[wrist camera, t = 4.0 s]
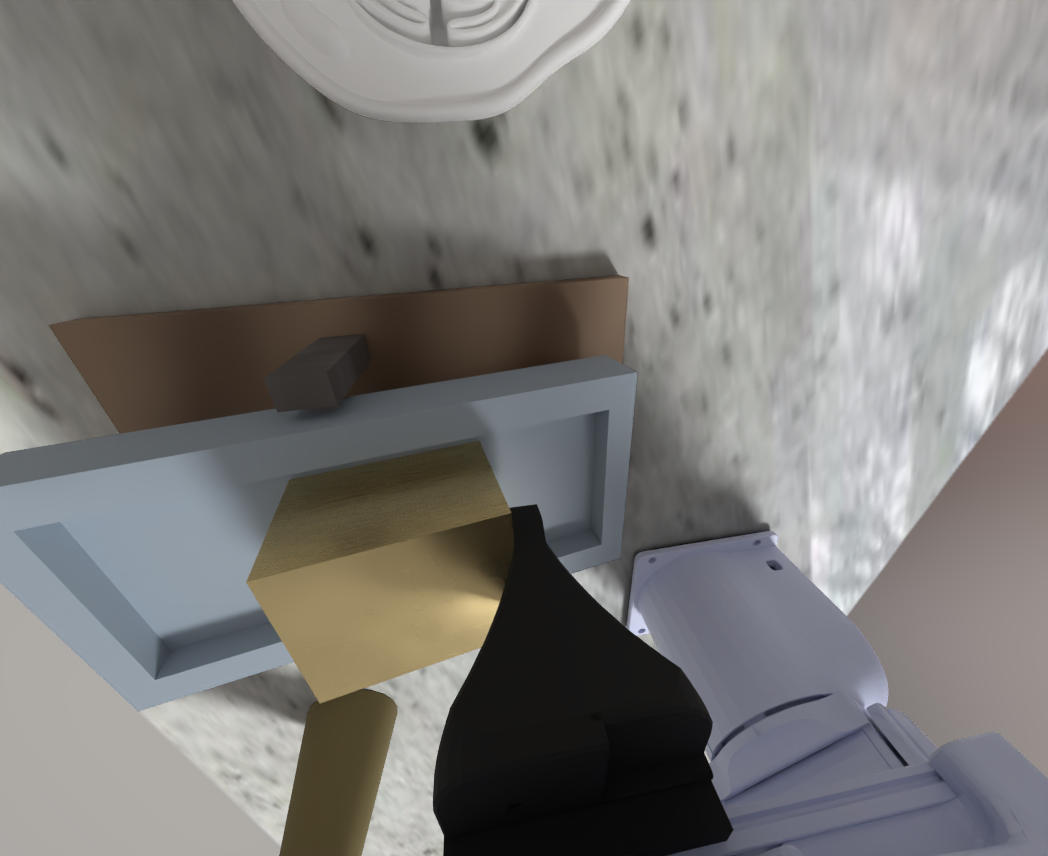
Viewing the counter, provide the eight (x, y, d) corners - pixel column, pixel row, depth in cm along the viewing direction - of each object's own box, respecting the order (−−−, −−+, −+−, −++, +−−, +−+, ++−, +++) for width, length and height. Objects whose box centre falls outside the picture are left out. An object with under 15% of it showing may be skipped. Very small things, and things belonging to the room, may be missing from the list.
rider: (479, 440, 13) (511, 512, 9) (493, 545, 15) (522, 633, 12) (289, 479, 11) (246, 582, 8) (337, 588, 14) (319, 703, 10)
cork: (287, 718, 26) (182, 1011, 16) (350, 678, 25) (279, 964, 15) (356, 743, 28) (301, 1006, 19) (415, 708, 27) (390, 966, 18)
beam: (605, 347, 14) (638, 363, 12) (597, 530, 19) (619, 562, 17) (-4, 443, 10) (-98, 491, 8) (175, 653, 14) (143, 715, 12)
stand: (618, 275, 15) (690, 293, 10) (604, 530, 22) (643, 612, 17) (76, 318, 13) (-144, 366, 8) (242, 586, 20) (172, 698, 15)
